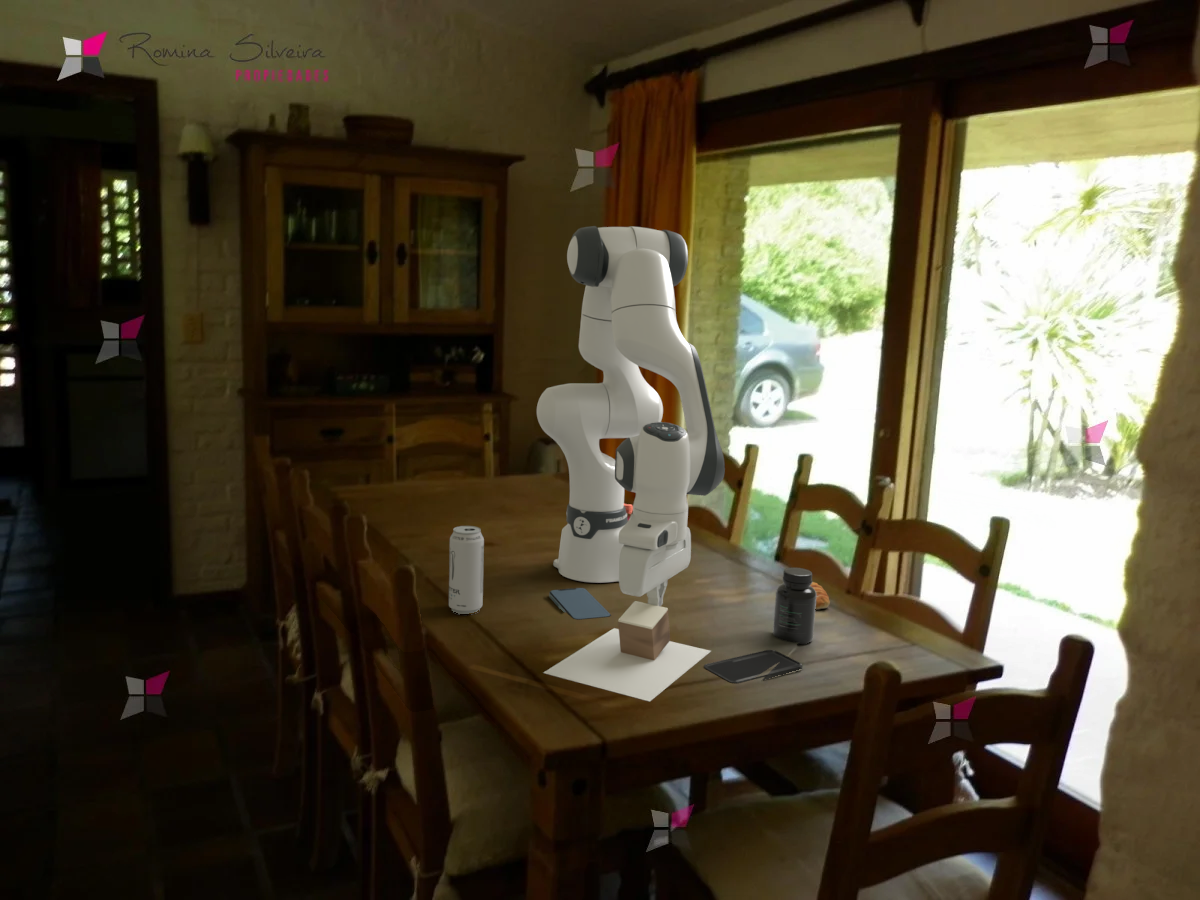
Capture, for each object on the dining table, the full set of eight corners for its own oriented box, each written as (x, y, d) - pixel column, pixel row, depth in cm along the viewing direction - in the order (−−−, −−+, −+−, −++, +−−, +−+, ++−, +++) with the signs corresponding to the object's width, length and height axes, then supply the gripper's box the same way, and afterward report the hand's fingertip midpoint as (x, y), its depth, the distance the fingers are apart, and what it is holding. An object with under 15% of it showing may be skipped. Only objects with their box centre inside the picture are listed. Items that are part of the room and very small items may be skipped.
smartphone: (573, 619, 172) (547, 589, 186) (573, 628, 172) (547, 598, 186) (614, 615, 175) (585, 586, 188) (613, 624, 175) (584, 595, 189)
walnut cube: (637, 632, 163) (634, 600, 161) (670, 640, 161) (668, 607, 158) (620, 652, 159) (617, 619, 156) (654, 660, 156) (651, 627, 153)
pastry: (838, 610, 186) (840, 591, 185) (807, 613, 183) (809, 594, 183) (812, 594, 194) (813, 576, 194) (782, 597, 192) (783, 578, 191)
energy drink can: (445, 606, 178) (446, 525, 176) (477, 603, 181) (479, 524, 178) (452, 617, 173) (454, 534, 170) (486, 614, 175) (487, 532, 172)
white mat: (613, 631, 169) (614, 628, 169) (710, 654, 161) (711, 650, 161) (542, 676, 149) (543, 672, 149) (649, 705, 141) (649, 701, 141)
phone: (805, 665, 156) (733, 683, 148) (805, 672, 156) (732, 690, 148) (771, 648, 163) (700, 664, 154) (771, 655, 163) (700, 671, 155)
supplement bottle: (784, 628, 174) (789, 563, 172) (819, 638, 170) (825, 571, 168) (765, 638, 169) (770, 571, 167) (800, 649, 165) (806, 580, 163)
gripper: (668, 509, 169) (664, 586, 171) (613, 535, 151) (609, 621, 153) (702, 514, 166) (697, 593, 168) (650, 542, 148) (645, 629, 150)
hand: (655, 606), depth 161 cm, fingers closed
